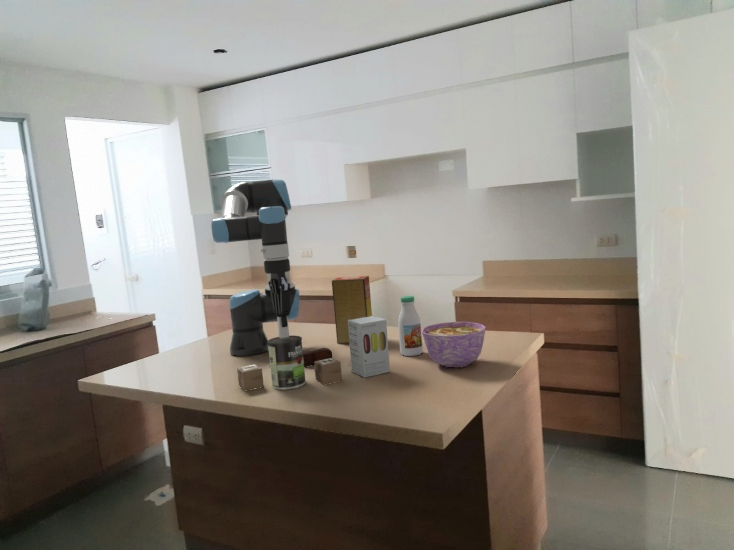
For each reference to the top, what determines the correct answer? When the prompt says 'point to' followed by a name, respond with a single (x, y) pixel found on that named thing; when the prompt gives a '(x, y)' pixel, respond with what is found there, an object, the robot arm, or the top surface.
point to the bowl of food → (454, 342)
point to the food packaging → (350, 303)
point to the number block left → (250, 377)
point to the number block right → (328, 371)
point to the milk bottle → (409, 328)
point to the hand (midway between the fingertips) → (284, 337)
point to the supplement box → (368, 346)
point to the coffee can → (286, 362)
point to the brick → (316, 356)
